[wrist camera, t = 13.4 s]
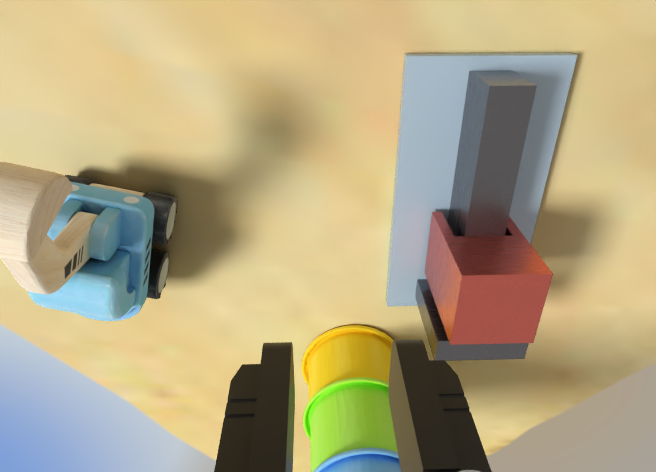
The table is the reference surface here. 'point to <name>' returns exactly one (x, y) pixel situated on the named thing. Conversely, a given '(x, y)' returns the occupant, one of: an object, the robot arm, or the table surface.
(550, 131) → the base board
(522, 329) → the red slotted block
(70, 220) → the toy excavator
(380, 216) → the table surface
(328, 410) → the stacking cups
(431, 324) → the coupler rail
